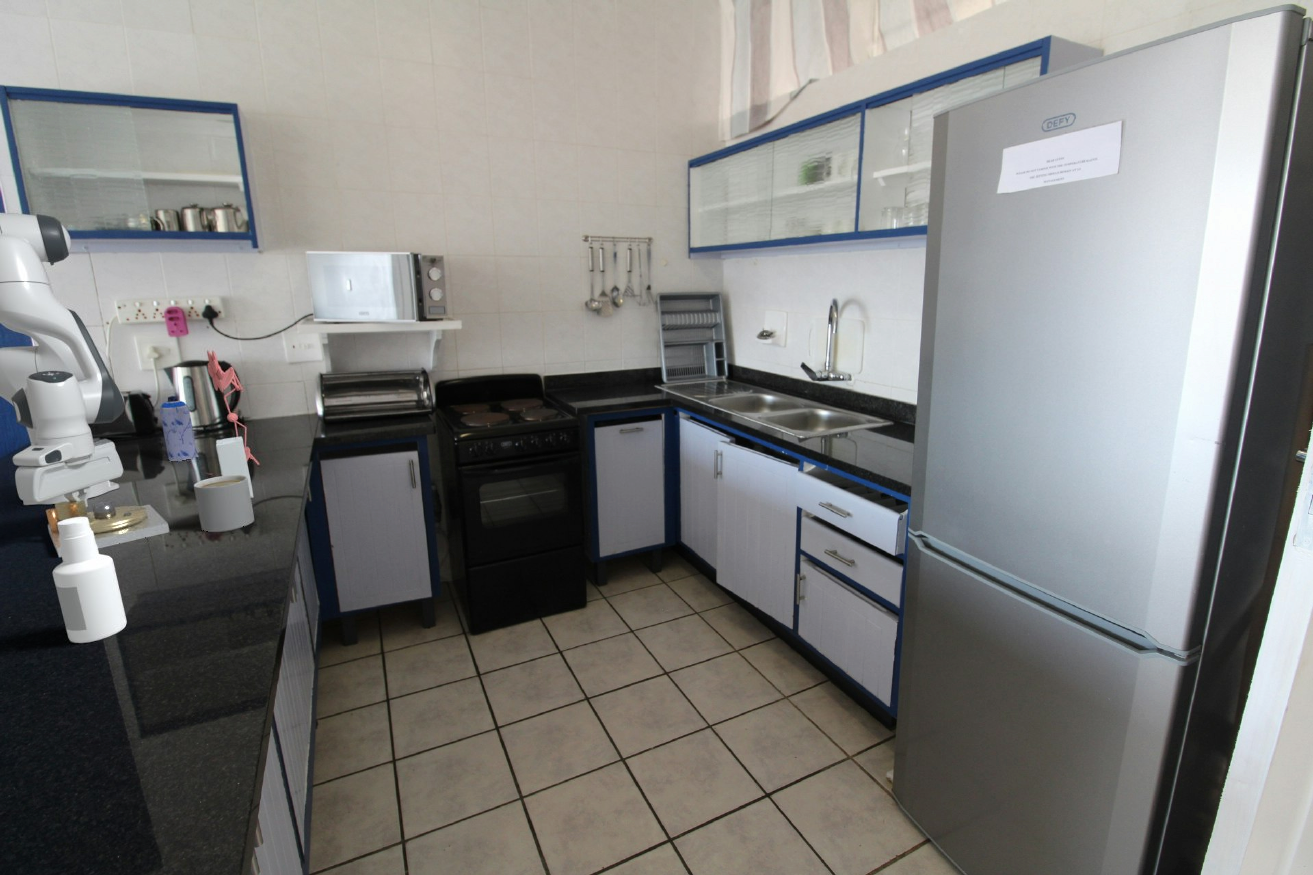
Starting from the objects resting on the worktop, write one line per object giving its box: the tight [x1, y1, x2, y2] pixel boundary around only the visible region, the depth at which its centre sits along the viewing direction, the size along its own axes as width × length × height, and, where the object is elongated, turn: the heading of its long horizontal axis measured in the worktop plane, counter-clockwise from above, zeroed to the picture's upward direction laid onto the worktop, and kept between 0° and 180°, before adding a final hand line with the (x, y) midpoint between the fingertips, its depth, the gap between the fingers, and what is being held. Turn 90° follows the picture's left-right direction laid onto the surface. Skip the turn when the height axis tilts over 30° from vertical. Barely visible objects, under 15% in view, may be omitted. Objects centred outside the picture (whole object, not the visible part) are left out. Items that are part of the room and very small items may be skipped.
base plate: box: [45, 504, 170, 558], centre depth 141 cm, size 20×18×7 cm
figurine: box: [201, 350, 260, 475], centre depth 192 cm, size 15×26×35 cm, turn 42°
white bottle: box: [52, 517, 128, 644], centre depth 97 cm, size 7×7×18 cm
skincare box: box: [215, 436, 254, 499], centre depth 165 cm, size 8×6×15 cm
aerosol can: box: [159, 395, 199, 462], centre depth 205 cm, size 8×8×20 cm
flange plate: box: [54, 501, 147, 533], centre depth 141 cm, size 16×14×5 cm
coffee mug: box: [193, 475, 255, 533], centre depth 146 cm, size 13×10×10 cm
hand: (80, 509), depth 142 cm, fingers closed
